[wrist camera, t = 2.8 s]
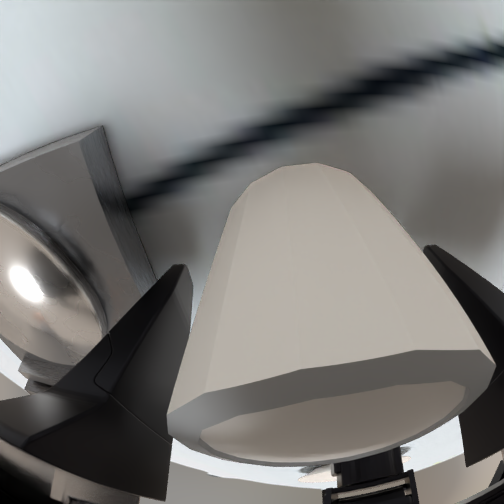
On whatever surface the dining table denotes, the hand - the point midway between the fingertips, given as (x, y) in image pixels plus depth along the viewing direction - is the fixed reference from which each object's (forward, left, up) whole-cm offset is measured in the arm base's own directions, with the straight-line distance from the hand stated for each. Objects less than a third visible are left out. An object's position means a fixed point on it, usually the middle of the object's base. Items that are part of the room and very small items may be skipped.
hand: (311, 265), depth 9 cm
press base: (+13, +5, -1) cm, 14 cm away
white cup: (0, 0, -2) cm, 2 cm away
